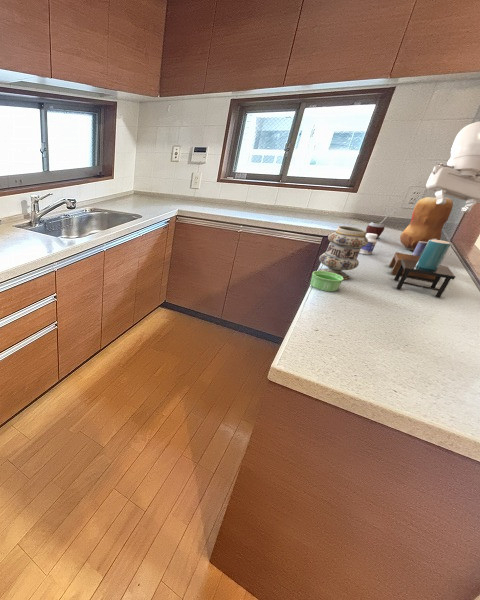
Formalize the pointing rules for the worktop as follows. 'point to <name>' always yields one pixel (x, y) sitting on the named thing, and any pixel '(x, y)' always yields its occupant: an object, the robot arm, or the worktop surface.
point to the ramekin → (326, 280)
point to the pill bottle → (369, 244)
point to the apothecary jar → (343, 250)
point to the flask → (420, 248)
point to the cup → (433, 254)
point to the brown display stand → (396, 265)
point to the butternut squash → (426, 222)
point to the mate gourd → (376, 227)
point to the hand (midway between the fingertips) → (452, 207)
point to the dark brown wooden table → (411, 267)
